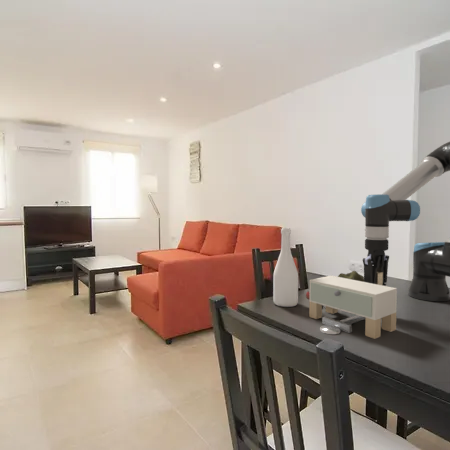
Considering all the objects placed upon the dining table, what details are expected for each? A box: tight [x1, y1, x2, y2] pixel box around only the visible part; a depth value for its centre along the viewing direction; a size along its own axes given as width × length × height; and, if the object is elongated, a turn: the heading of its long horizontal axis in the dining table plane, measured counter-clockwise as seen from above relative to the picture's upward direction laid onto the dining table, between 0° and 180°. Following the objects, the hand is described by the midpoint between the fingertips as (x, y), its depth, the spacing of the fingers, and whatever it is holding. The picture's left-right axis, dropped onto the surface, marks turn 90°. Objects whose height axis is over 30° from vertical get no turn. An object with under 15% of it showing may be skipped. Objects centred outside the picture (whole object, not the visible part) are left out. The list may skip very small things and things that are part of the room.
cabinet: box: [308, 275, 398, 340], centre depth 109 cm, size 14×24×13 cm, turn 36°
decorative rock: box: [337, 270, 364, 282], centre depth 145 cm, size 15×16×10 cm
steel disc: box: [319, 324, 341, 335], centre depth 103 cm, size 6×6×1 cm
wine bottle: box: [272, 227, 299, 308], centre depth 130 cm, size 10×10×30 cm
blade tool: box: [321, 272, 383, 334], centre depth 112 cm, size 26×10×15 cm, turn 126°
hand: (375, 304), depth 118 cm, fingers closed on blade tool, 3 cm apart
